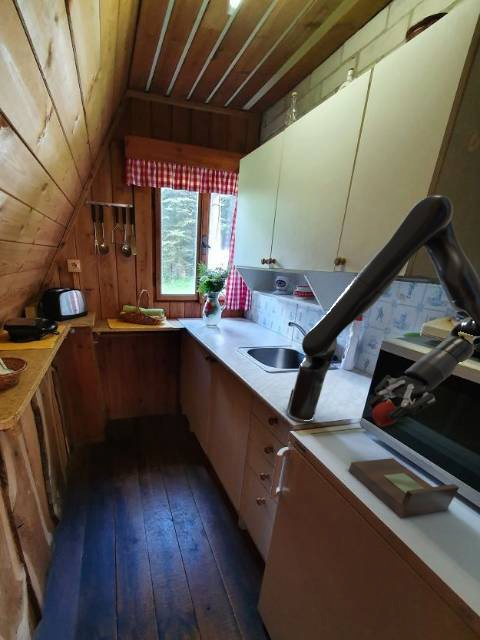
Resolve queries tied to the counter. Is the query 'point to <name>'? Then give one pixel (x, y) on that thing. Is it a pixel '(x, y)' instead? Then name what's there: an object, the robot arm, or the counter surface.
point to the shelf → (402, 487)
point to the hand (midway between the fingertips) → (380, 412)
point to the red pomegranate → (383, 413)
